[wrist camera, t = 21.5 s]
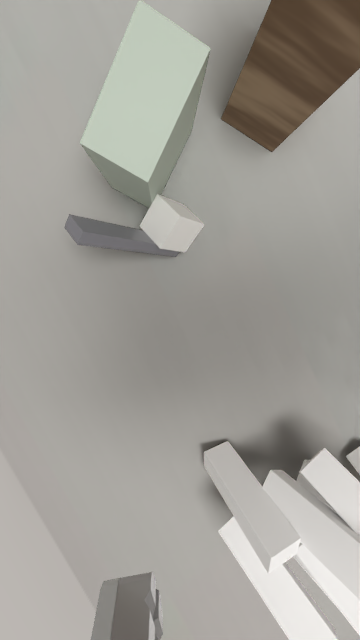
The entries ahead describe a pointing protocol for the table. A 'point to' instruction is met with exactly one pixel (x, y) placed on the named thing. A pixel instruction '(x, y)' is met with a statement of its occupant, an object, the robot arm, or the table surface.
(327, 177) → the table surface
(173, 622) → the table surface
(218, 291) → the table surface
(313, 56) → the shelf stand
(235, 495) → the pile of blocks
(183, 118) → the block
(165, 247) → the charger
